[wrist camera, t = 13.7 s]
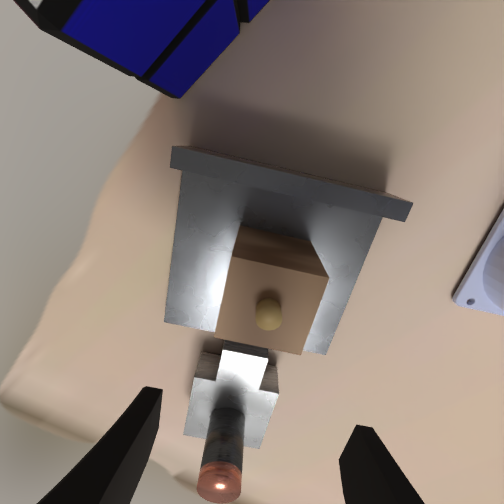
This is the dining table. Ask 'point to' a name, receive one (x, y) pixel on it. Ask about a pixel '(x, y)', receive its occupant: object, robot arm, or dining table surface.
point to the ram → (230, 414)
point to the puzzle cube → (147, 34)
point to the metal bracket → (267, 219)
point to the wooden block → (271, 291)
